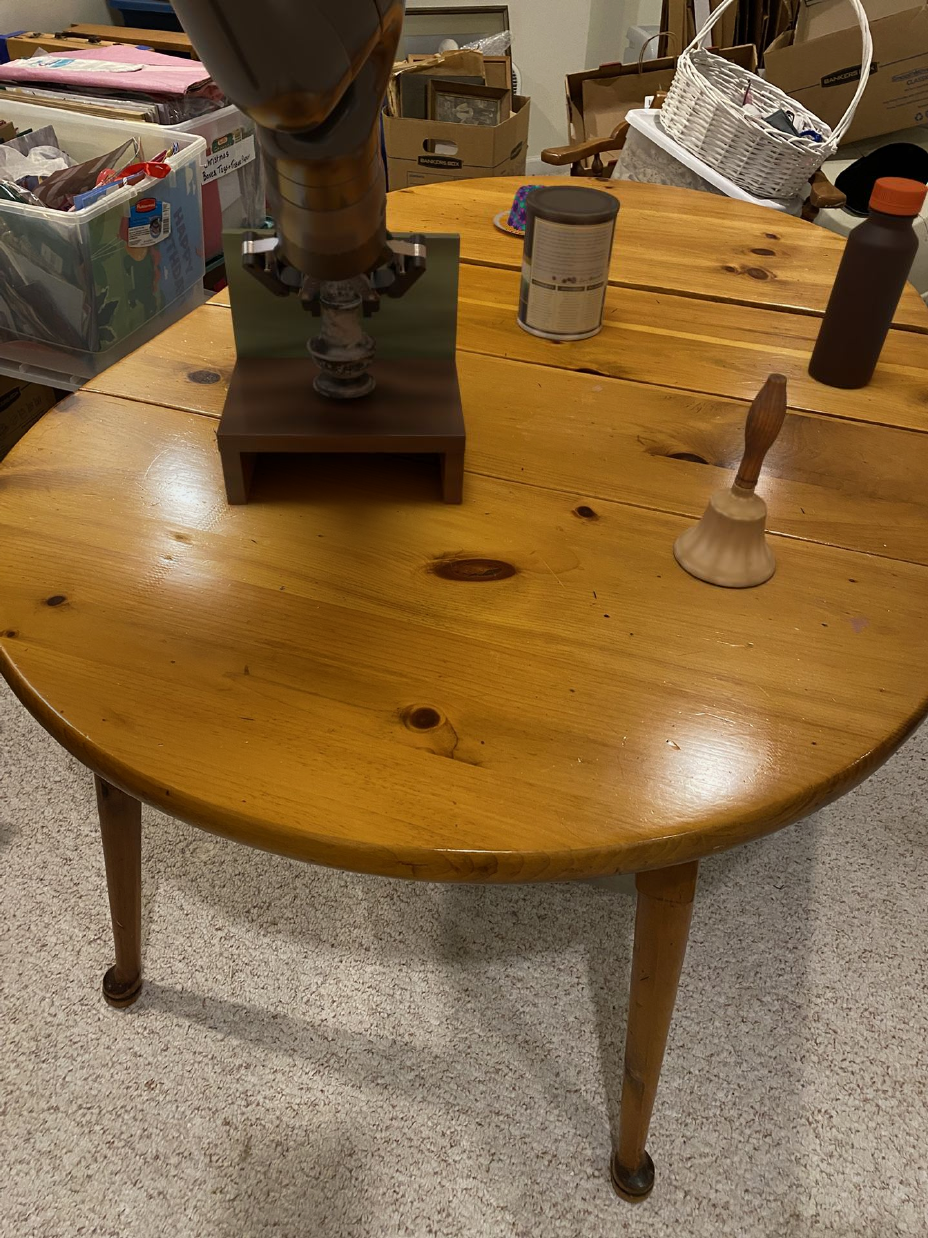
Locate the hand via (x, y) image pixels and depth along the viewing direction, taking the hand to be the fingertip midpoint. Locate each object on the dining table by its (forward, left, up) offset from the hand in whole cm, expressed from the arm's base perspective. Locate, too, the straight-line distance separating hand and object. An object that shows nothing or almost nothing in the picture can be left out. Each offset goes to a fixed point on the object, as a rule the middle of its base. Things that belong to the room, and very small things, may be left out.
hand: (341, 305), depth 76 cm
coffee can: (-1, +39, -14) cm, 41 cm away
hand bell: (+34, +8, -14) cm, 38 cm away
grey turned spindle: (+1, -2, -6) cm, 7 cm away
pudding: (-22, +66, -14) cm, 70 cm away
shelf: (+1, -1, -14) cm, 14 cm away
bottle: (+30, +48, -14) cm, 58 cm away
